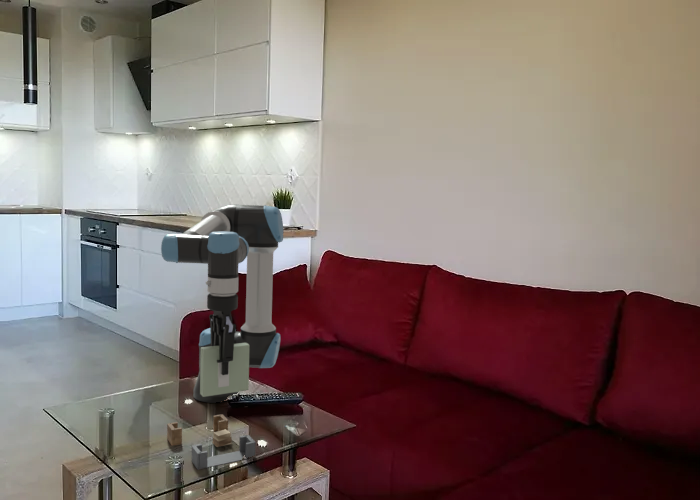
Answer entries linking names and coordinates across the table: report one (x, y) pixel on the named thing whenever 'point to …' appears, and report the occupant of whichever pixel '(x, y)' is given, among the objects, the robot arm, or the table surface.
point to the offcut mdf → (222, 435)
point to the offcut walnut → (221, 442)
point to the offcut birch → (222, 445)
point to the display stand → (204, 461)
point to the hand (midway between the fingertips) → (221, 384)
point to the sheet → (236, 370)
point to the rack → (176, 433)
